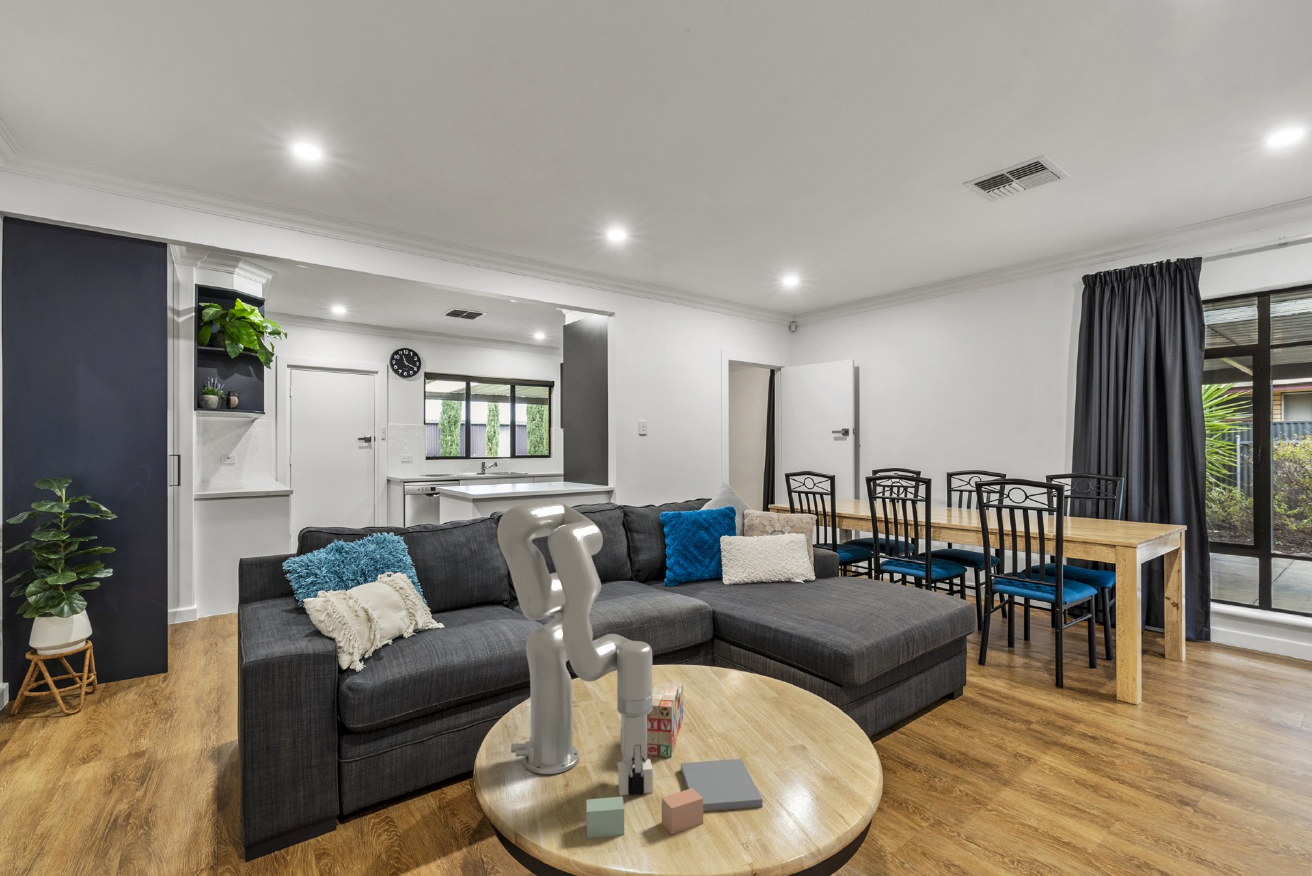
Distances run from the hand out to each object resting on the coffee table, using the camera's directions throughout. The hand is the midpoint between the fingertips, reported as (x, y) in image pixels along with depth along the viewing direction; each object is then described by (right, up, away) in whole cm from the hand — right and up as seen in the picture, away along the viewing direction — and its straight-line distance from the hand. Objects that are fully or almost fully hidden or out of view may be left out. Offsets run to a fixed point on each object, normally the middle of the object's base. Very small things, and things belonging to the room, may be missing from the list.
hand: (635, 787), depth 132 cm
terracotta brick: (+10, 0, -12) cm, 15 cm away
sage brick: (-5, 0, -14) cm, 15 cm away
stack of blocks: (+7, -1, +24) cm, 25 cm away
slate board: (+18, 0, 0) cm, 18 cm away
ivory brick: (0, 0, 0) cm, 0 cm away
